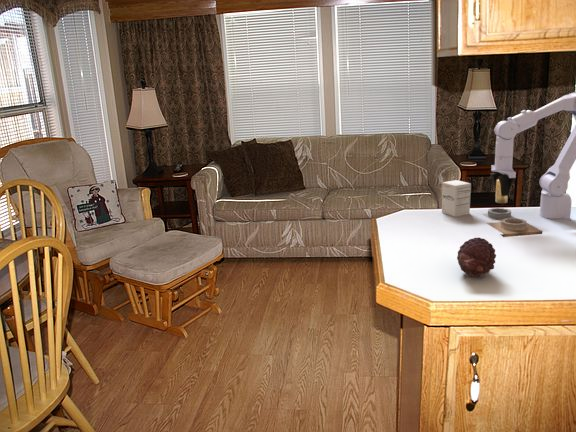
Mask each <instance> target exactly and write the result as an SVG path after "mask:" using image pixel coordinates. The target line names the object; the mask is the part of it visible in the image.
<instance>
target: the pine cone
mask: <svg viewBox="0 0 576 432" xmlns="http://www.w3.org/2000/svg"><path fill="white" fill-rule="evenodd" d="M496 258H497V254H496V249H495V247H494V245H493V244H492V243H490V242H489V241H488V240H486V239H485V238H481V237H474V238H469V239H468V240H466V241H465V242H464V243H463V244H462V245H460V247H459V249H458V251H457V257H456V260H457V263H458V265H459V267H460V270H461V271H462V272H463V273H464V274H468V275H470V276H473V277H475V278H476V277H481V276H482V275H486V273H490V272H491V270H494V268H495V264H496Z"/></svg>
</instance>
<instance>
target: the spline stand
mask: <svg viewBox="0 0 576 432" xmlns="http://www.w3.org/2000/svg"><path fill="white" fill-rule="evenodd" d="M482 215H483V216H484V217H486V218H488V219H489V220H491V221H494V222H495V221H502V219H506V218H516V216H514V215H512V210H511V209H508V208H503V207H494V208H493V207H492V208H489V209H488V210H487V213H482Z"/></svg>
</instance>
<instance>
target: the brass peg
mask: <svg viewBox="0 0 576 432" xmlns="http://www.w3.org/2000/svg"><path fill="white" fill-rule="evenodd" d="M508 196H509V195H508ZM508 196H502V195H501V185H500V181H499V179H496V192H495V201H494V202H495V203H497V204H507V203H508V199H509V197H508Z"/></svg>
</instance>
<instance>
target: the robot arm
mask: <svg viewBox="0 0 576 432" xmlns="http://www.w3.org/2000/svg"><path fill="white" fill-rule="evenodd" d="M560 111H566V112H567V111H569V112H570V113H571V114H572V115H573V118H574V120H575V121H576V91H574V92H571V93H568V94H565V95H562V96H561V97H560V98H557V99H555V100H553V101H551V102H550V103H547V104H546V105H544V106H541V107H540V108H537V109H536V110H530V109H527V110H526V109H523V110H520V113H519V114H516V115H514V116H512V117H511V116H509V117H507V120H501V121H499V122H498V123H497V124H496V125H495V127H494V129H493V133H494V134H495V135H496V137H495V151H494V152H495V153H494V164H491V167H490V168H491V169H490V171H491V173H490V175H489V176H490V177H491V179H492V181H493V186H494V191H495V193H496V179H499V181H500V185H501V195H502V196H509V194H510V191H511V188H512V186H513V183H514V181H516V179H517V176H516V175H517V172H516V171H515V170H514V169H513V162H514V161H513V158H514V157H513V156H514V138H515V137H516V136H517V134H519V133H521V132H524V131H526V130H528V129H530V128H533V127H534V126H536V125H537V123H538V121H539V120H542V119H544V118H547V117H548V116H551V115H553V114H556V113H558V112H560ZM575 162H576V124H575V125H574V127H573V128H572V131H571V132H570V134H569V137H568V138H567V140H566V141H565V144H564V145H563V147H562V149H561V151H560V152H559V155H558V157H557V159H556V160H555V162H554V164H553V165H551V166H550V167H549V168H547V171H546V172H545V173H544V174H543V175H542V176H541V177H540V179H539V181H538V182H539V186H540V187H541V188H542V189H541V192H540V193H541V194H540V203H539V217H542V218H543V219H551V220H553V219H554V220H556V219H562V218H564V219H566V220H568V221H571V220H572V218H571V212H572V198H571V197H572V196H571V195H570V194H568V193H566V192H567V190H568V187H569V186H568V185H569V181H570V178H571V176H570V175H571V174H570V172H571V169H572V167H573V165H574V163H575Z"/></svg>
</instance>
